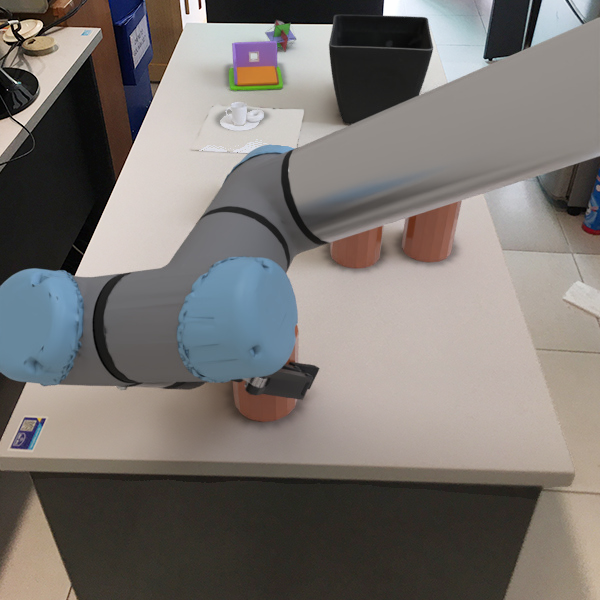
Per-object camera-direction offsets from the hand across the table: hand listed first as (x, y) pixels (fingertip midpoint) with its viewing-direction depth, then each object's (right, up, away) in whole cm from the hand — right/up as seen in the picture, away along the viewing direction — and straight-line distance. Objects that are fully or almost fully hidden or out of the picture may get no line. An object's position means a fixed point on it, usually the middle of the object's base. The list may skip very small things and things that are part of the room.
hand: (283, 361), depth 74 cm
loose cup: (-2, -5, +1) cm, 5 cm away
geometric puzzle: (-3, +70, +85) cm, 110 cm away
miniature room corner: (-8, +58, +70) cm, 91 cm away
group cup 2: (+21, +14, +22) cm, 34 cm away
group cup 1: (+10, +13, +21) cm, 27 cm away
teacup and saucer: (-8, +41, +52) cm, 67 cm away
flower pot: (+17, +46, +58) cm, 76 cm away
